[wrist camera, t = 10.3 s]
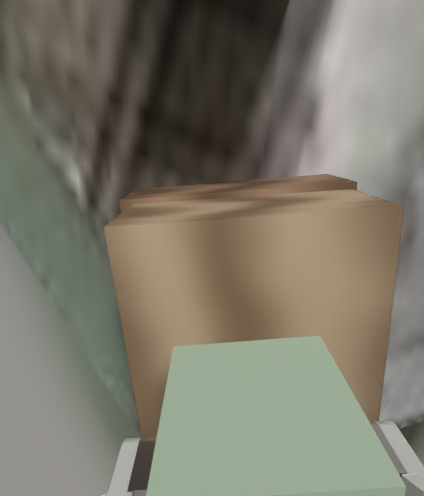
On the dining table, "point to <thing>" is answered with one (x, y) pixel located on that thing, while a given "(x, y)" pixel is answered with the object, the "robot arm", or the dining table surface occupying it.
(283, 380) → the sage block
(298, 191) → the walnut base block
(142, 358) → the oak top block
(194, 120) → the dining table surface
